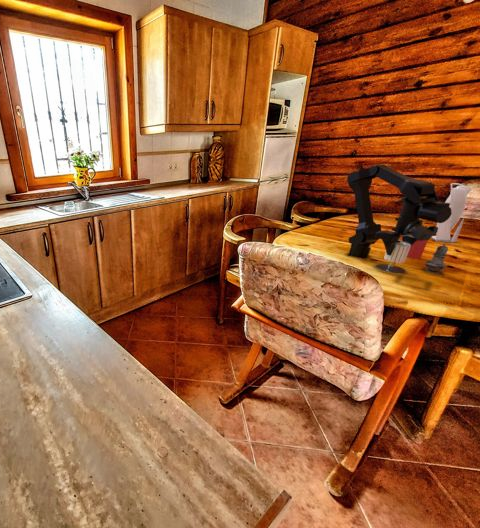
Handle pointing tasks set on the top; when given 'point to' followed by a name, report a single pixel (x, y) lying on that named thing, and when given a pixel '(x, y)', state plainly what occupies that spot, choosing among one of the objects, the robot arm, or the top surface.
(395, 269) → the towel stand
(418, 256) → the beer can
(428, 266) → the dark grey tapered piece
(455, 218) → the skyscraper
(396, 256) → the grey ribbed cylinder
